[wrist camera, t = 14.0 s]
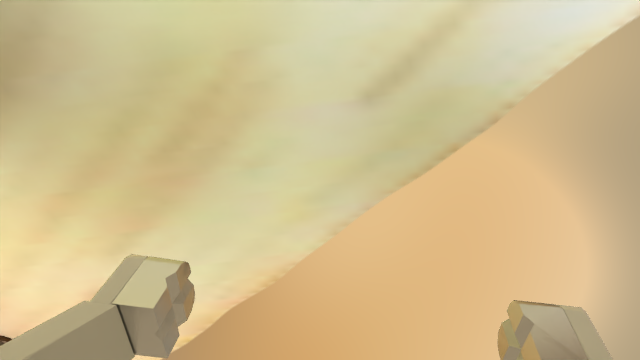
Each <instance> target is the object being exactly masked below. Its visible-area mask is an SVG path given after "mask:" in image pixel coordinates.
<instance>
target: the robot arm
mask: <svg viewBox="0 0 640 360" xmlns="http://www.w3.org/2000/svg"><path fill="white" fill-rule="evenodd" d="M190 273H191V270H190V266H189V263H187V262H184V261H178V260H171V259H164V258H157V257H148V256H141V255H134V254H131V255H129V256H128V257H126V258H125V259H124V260H123V261H122V263H121V264H120V265H119V266H118V268H117V269H116V270H115V271H114V273H113V274H112V275H111V276H110V277H109V279H108V280H107V281H106V282H105V284H104V285H103V286H102V287H101V289H100V290H99V291H98V292H97V293H96V295H95V296H94V297H93V298H92V300H91V301H83V302H81V303H79V304H78V305H76V306H74V307H72V308H70V309H68V310H66V311H65V312H63V313H61V314H59V315H57V316H55V317H53V318H52V319H50V320H48V321H46V322H44V323H42V324H40V325H38V326H37V327H35V328H33V329H31V330H29V331H27V332H25V333H24V334H22V335H20V336H18V337H16V338H14V339H12V340H10V341H9V342H7V343H5V344H3V345H1V346H0V360H131V359H132V358H134V357H135V356H134V355H142V356H151V357H160V358H168V356H169V354H170V352H171V351H172V349H173V347H174V345H175V343H176V341H177V339H178V337H179V332H178V326H180V325H181V324H183V323H184V322H185V321H187V319H188V317H189V315H190V313H191V311H192V307H193V303H194V296H195V291H194V285H193V284H192V283H191V282H190V281H189V280H188V277H189V275H190ZM507 313H508V315H509V319H508V320H506V321H504V322H503V323H502V324H501V326H500V329H499V332H498V351H499V355H500V358H501V360H613V358H612V357H611V355H610V353H609V352H608V350H607V348H606V346H605V344H604V343H603V341H602V339H601V337H600V336H599V334H598V332H597V330H596V329H595V327H594V325H593V323H592V322H591V320H590V318H589V316H588V314H587V313H586V311H585V310H583V309H582V308H580V307H571V306H562V305H554V304H544V303H536V302H525V301H517V300H514V301H512V302H511V303H510V305H509V307H508V309H507Z"/></svg>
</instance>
